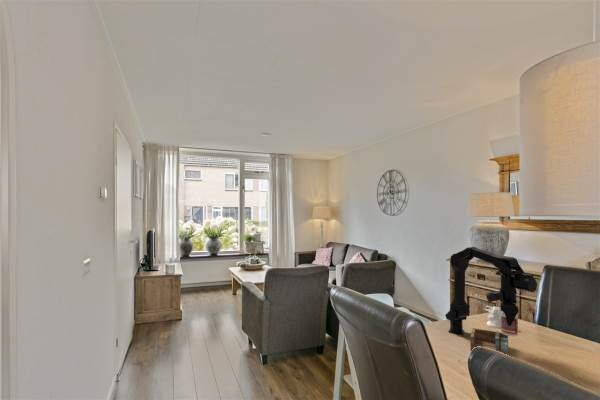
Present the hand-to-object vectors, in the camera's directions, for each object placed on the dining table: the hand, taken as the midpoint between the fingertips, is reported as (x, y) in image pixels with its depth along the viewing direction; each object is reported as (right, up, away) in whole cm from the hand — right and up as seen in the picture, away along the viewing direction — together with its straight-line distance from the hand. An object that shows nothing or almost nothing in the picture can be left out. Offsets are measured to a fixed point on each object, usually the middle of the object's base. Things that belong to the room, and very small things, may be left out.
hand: (509, 323), depth 141 cm
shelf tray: (-6, -13, +5) cm, 15 cm away
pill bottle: (0, -5, 0) cm, 5 cm away
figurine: (+16, -14, +35) cm, 41 cm away
